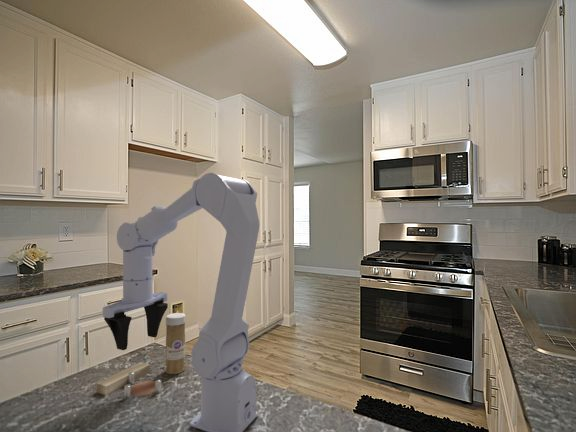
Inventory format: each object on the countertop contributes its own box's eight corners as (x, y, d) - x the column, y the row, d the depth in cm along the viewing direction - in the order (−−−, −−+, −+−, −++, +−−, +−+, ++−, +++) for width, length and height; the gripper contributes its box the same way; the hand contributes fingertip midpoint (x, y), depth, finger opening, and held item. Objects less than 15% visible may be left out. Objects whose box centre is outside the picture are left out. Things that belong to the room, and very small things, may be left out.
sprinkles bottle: (170, 377, 73) (170, 319, 73) (162, 370, 76) (162, 314, 76) (188, 370, 76) (189, 314, 76) (180, 364, 79) (180, 311, 79)
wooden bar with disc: (173, 379, 72) (174, 370, 72) (131, 405, 62) (131, 395, 62) (140, 370, 76) (140, 362, 76) (96, 392, 66) (96, 383, 66)
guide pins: (162, 392, 66) (162, 380, 66) (141, 405, 62) (141, 392, 62) (131, 382, 70) (131, 371, 70) (109, 394, 66) (109, 382, 66)
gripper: (152, 272, 76) (152, 329, 75) (92, 283, 63) (92, 352, 62) (174, 274, 73) (174, 333, 72) (116, 286, 60) (116, 358, 59)
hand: (137, 342), depth 67 cm, fingers open, 7 cm apart
